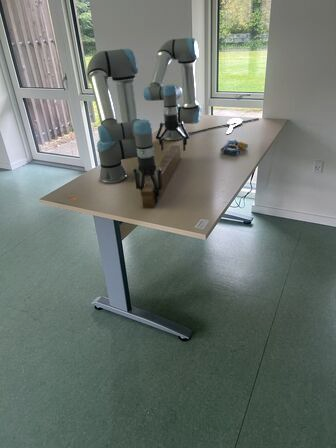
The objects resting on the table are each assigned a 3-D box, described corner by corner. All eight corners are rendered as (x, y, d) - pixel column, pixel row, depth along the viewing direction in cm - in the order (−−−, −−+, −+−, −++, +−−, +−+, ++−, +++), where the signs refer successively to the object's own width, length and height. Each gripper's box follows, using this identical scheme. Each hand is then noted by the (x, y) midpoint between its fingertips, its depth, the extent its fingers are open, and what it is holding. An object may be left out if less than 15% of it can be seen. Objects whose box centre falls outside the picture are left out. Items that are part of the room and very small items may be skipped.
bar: (172, 158, 211) (171, 145, 207) (180, 158, 210) (179, 145, 206) (143, 207, 158) (141, 191, 154) (153, 208, 157) (151, 191, 153)
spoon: (235, 136, 245) (235, 133, 244) (220, 135, 249) (220, 132, 248) (243, 120, 272) (243, 117, 270) (230, 120, 275) (230, 117, 274)
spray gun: (250, 145, 220) (228, 144, 226) (250, 139, 217) (228, 138, 224) (241, 157, 204) (218, 155, 211) (242, 150, 202) (218, 149, 208)
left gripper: (124, 158, 149) (131, 204, 161) (163, 159, 145) (167, 206, 157) (129, 152, 155) (135, 197, 167) (167, 153, 151) (171, 198, 163)
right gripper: (148, 116, 191) (152, 152, 202) (191, 115, 185) (192, 152, 196) (151, 113, 197) (155, 148, 208) (193, 112, 192) (194, 148, 202)
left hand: (151, 201), depth 162 cm, fingers closed on bar, 5 cm apart
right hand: (173, 150), depth 202 cm, fingers open, 13 cm apart
